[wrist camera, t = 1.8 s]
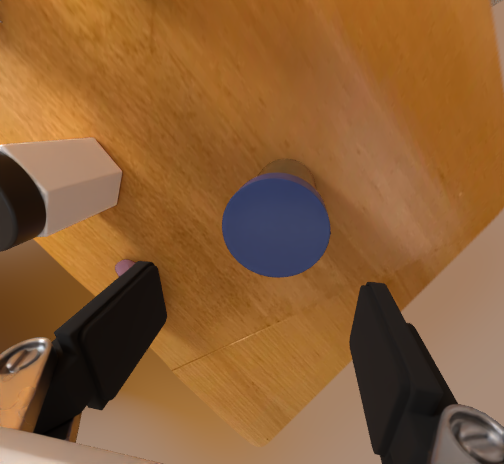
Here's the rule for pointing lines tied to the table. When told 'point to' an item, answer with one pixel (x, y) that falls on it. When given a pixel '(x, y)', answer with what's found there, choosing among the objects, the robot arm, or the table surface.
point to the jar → (53, 187)
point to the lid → (276, 225)
